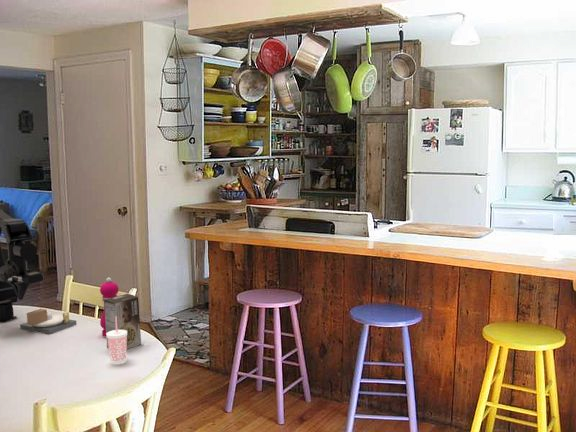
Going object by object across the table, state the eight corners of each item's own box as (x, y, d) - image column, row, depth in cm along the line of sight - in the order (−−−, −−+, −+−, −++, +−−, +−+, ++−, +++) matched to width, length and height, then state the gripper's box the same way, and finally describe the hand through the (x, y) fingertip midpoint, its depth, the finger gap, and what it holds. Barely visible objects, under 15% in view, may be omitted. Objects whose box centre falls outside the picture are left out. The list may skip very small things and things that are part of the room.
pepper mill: (99, 333, 209) (96, 276, 206) (120, 330, 212) (117, 274, 209) (102, 339, 202) (99, 281, 200) (124, 336, 205) (121, 278, 203)
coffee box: (129, 340, 201) (127, 293, 199) (141, 344, 197) (139, 296, 195) (106, 348, 194) (103, 299, 192) (118, 352, 190) (115, 302, 188)
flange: (20, 326, 213) (18, 311, 212) (50, 316, 224) (49, 302, 224) (41, 330, 208) (40, 315, 207) (71, 319, 219) (70, 305, 218)
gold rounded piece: (62, 323, 216) (61, 313, 215) (66, 321, 218) (65, 312, 217) (66, 324, 215) (65, 314, 214) (70, 322, 217) (69, 313, 216)
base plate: (20, 328, 215) (19, 324, 215) (47, 319, 226) (47, 315, 226) (49, 334, 208) (49, 330, 208) (76, 324, 219) (76, 320, 219)
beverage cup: (107, 366, 178) (104, 320, 176) (108, 359, 184) (105, 314, 182) (129, 364, 180) (126, 318, 178) (128, 356, 186) (126, 312, 184)
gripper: (-22, 258, 208) (-18, 302, 211) (15, 262, 200) (19, 308, 202) (7, 252, 218) (10, 294, 220) (43, 256, 210) (46, 300, 212)
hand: (20, 299), depth 213 cm, fingers closed
